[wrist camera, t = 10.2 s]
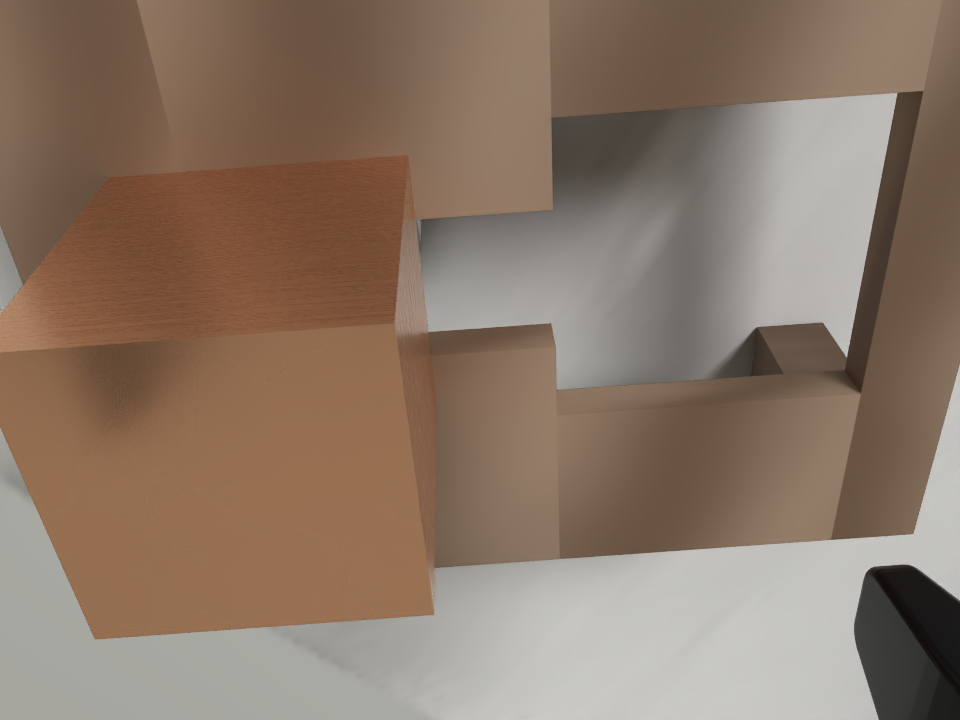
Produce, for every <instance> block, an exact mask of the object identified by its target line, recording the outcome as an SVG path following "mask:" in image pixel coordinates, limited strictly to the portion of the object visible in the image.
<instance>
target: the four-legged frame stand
mask: <svg viewBox="0 0 960 720" xmlns="http://www.w3.org/2000/svg"><path fill="white" fill-rule="evenodd" d="M886 93H898V94H897V99H896V105H895V110H894V115H893V120H892V125H891V131H890V136H889V141H888V146H887V152H886V157H885V162H884V167H883V173H882V178H881V183H880V188H879V193H878V199H877V204H876V209H875V214H874V220H873V225H872V230H871V235H870V241H869V246H868V251H867V256H866V261H865V267H864V272H863V277H862V282H861V288H860V293H859V298H858V303H857V309H856V314H855V319H854V324H853V329H852V335H851V340H850V345H849V350H848V356H847V358H846V356H845V355H844V353H843V352H842V350H841V349H840V347H839V346H838V344H837V343H836V341H835V340H834V338H833V337H832V336H831V334H830V333H829V331H828V330H827V328H826V327H825V325H824V324H823V323H811V324H797V325H783V326H769V327H758V329H757V337H756V345H755V353H754V361H753V369H752V376H749V377H735V378H721V379H707V380H693V381H679V382H665V383H651V384H637V385H623V386H609V387H595V388H581V389H567V390H556V346H555V341H554V336H553V331H552V326H551V324H537V325H523V326H509V327H495V328H481V329H467V330H453V331H439V332H428V333H429V342H430V351H431V360H432V368H433V377H434V386H435V395H436V450H435V568H439V567H453V566H467V565H481V564H495V563H509V562H524V561H538V560H552V559H566V558H580V557H594V556H609V555H623V554H637V553H651V552H665V551H680V550H694V549H708V548H722V547H736V546H750V545H765V544H779V543H793V542H807V541H821V540H835V539H850V538H864V537H878V536H892V535H906V534H913V533H914V529H915V526H916V522H917V518H918V515H919V511H920V507H921V504H922V500H923V496H924V493H925V489H926V485H927V482H928V478H929V474H930V471H931V467H932V463H933V460H934V456H935V452H936V449H937V445H938V441H939V438H940V434H941V431H942V427H943V423H944V420H945V416H946V412H947V409H948V405H949V401H950V398H951V394H952V390H953V387H954V383H955V379H956V376H957V372H958V368H959V365H960V0H0V225H1V228H2V230H3V233H4V236H5V238H6V241H7V243H8V246H9V249H10V251H11V254H12V256H13V259H14V262H15V264H16V267H17V270H18V272H19V275H20V277H21V280H22V283H23V285H24V284H25V283H26V281H27V280H28V279H29V278H30V276H31V275H32V274H33V273H34V271H35V270H36V269H37V268H38V266H39V265H40V264H41V262H42V261H43V260H44V259H45V257H46V256H47V255H48V254H49V252H50V251H51V250H52V249H53V247H54V246H55V245H56V244H57V242H58V241H59V240H60V239H61V237H62V236H63V235H64V234H65V232H66V231H67V230H68V229H69V227H70V226H71V225H72V224H73V222H74V221H75V220H76V218H77V217H78V216H79V215H80V213H81V212H82V211H83V210H84V208H85V207H86V206H87V205H88V203H89V202H90V201H91V200H92V198H93V197H94V196H95V195H96V193H97V192H98V191H99V190H100V188H101V187H102V186H103V185H104V183H105V182H106V181H107V180H108V178H109V177H122V176H135V175H148V174H162V173H175V172H188V171H201V170H215V169H228V168H241V167H254V166H268V165H281V164H294V163H307V162H321V161H334V160H347V159H360V158H373V157H387V156H400V155H408V156H409V165H410V174H411V183H412V192H413V200H414V209H415V218H416V220H419V219H433V218H447V217H461V216H475V215H489V214H503V213H516V212H530V211H544V210H553V180H552V127H551V118H554V117H568V116H582V115H596V114H610V113H623V112H637V111H651V110H665V109H679V108H693V107H706V106H720V105H734V104H748V103H762V102H776V101H789V100H803V99H817V98H831V97H845V96H858V95H872V94H886Z"/></svg>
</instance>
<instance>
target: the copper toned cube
mask: <svg viewBox="0 0 960 720" xmlns="http://www.w3.org/2000/svg"><path fill="white" fill-rule="evenodd" d="M420 241H421V219H419V220H416V218H415V209H414V200H413V192H412V183H411V174H410V165H409V156H408V155H400V156H387V157H373V158H360V159H347V160H334V161H321V162H307V163H294V164H281V165H268V166H254V167H241V168H228V169H215V170H201V171H188V172H175V173H162V174H148V175H135V176H122V177H109V178H108V180H107V181H106V182H105V183H104V185H103V186H102V187H101V188H100V190H99V191H98V192H97V193H96V195H95V196H94V197H93V198H92V200H91V201H90V202H89V203H88V205H87V206H86V207H85V208H84V210H83V211H82V212H81V213H80V215H79V216H78V217H77V218H76V220H75V221H74V222H73V224H72V225H71V226H70V227H69V229H68V230H67V231H66V232H65V234H64V235H63V236H62V237H61V239H60V240H59V241H58V242H57V244H56V245H55V246H54V247H53V249H52V250H51V251H50V252H49V254H48V255H47V256H46V257H45V259H44V260H43V261H42V262H41V264H40V265H39V266H38V268H37V269H36V270H35V271H34V273H33V274H32V275H31V276H30V278H29V279H28V280H27V281H26V283H25V284H24V285H23V286H22V288H21V289H20V290H19V291H18V293H17V294H16V295H15V296H14V298H13V299H12V300H11V301H10V303H9V304H8V305H7V306H6V308H5V309H4V310H3V312H2V313H1V314H0V428H1V430H2V432H3V434H4V437H5V439H6V441H7V443H8V446H9V448H10V450H11V452H12V455H13V457H14V459H15V461H16V464H17V466H18V468H19V470H20V473H21V475H22V477H23V479H24V482H25V484H26V486H27V488H28V490H29V493H30V495H31V497H32V499H33V502H34V504H35V506H36V508H37V511H38V513H39V515H40V517H41V520H42V522H43V524H44V526H45V529H46V531H47V533H48V535H49V537H50V540H51V542H52V544H53V546H54V549H55V551H56V553H57V555H58V558H59V560H60V562H61V564H62V567H63V569H64V571H65V573H66V576H67V578H68V580H69V582H70V585H71V587H72V589H73V591H74V593H75V596H76V598H77V600H78V602H79V605H80V607H81V609H82V611H83V614H84V616H85V618H86V620H87V623H88V625H89V627H90V629H91V631H92V634H93V636H94V638H95V639H107V638H121V637H135V636H147V635H162V634H175V633H190V632H204V631H217V630H231V629H243V628H244V629H245V628H259V627H272V626H286V625H300V624H314V623H327V622H341V621H355V620H369V619H382V618H396V617H410V616H424V615H434V584H435V450H436V395H435V386H434V377H433V368H432V360H431V351H430V342H429V333H428V324H427V315H426V307H425V298H424V289H423V280H422V271H421V262H420Z"/></svg>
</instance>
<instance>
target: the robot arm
mask: <svg viewBox="0 0 960 720" xmlns="http://www.w3.org/2000/svg"><path fill="white" fill-rule="evenodd" d="M854 635H855V642H856V646H857V650H858V653H859V656H860V660H861V663H862V666H863V669H864V673H865V676H866V679H867V682H868V686H869V689H870V692H871V695H872V699H873V702H874V705H875V708H876V712H877V715H878V718H879V720H960V601H959V600H958V599H957V598H956V597H954V596H953V595H952V594H950V593H949V592H948V591H946V590H945V589H944V588H942V587H941V586H940V585H938V584H937V583H936V582H934V581H933V580H932V579H931V578H929V577H928V576H927V575H925V574H924V573H923V572H921V571H920V570H918V569H917V568H915V567H913V566H910V565H892V566H878V567H873V568H870V569H869V570H868V571H867V573H866V574H865V577H864V581H863V585H862V590H861V594H860V599H859V604H858V608H857V613H856V617H855V623H854Z"/></svg>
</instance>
